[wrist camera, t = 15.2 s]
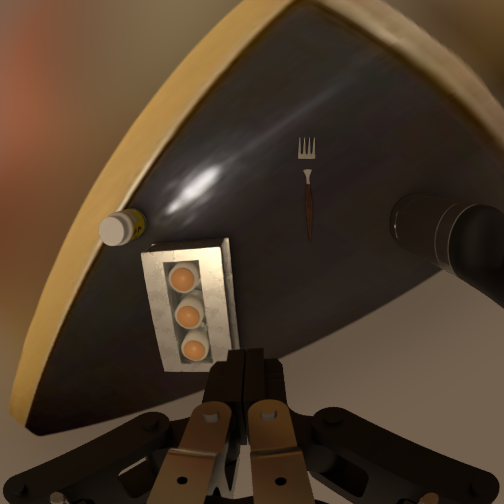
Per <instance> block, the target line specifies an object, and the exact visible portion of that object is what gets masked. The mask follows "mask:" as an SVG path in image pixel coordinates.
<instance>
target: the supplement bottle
mask: <svg viewBox="0 0 504 504" xmlns="http://www.w3.org/2000/svg"><path fill="white" fill-rule="evenodd" d="M145 228H146V218H145V216H144V214H143V213H142V212H141V211H139V210H138V209H134V208H131V209H126V210H122V211H119V212H115V213H112V214H111V215H109V216H108V217H107V218H105V219H104V220H103V221H102V222H101V224H100V227H99V235H100V238H101V239H102V241H103V242H104V243H105V244H107V245H109V246H116V245H123V244H126V243H128V242H130V241H132V240H133V239H135V238H137V237H139V236H141V235H142V234H143V232H144V231H145Z"/></svg>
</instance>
